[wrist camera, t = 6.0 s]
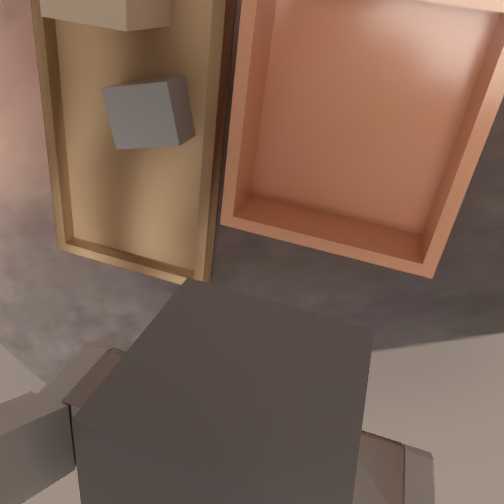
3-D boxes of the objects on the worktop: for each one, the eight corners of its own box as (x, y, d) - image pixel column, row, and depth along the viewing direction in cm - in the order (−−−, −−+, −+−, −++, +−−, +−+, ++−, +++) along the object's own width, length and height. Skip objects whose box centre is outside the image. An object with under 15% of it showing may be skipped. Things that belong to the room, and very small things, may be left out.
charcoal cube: (179, 404, 12) (88, 562, 9) (187, 277, 10) (71, 419, 7) (331, 457, 11) (295, 653, 8) (374, 330, 9) (349, 523, 6)
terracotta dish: (242, 198, 26) (220, 224, 23) (270, -38, 20) (246, -44, 17) (429, 244, 24) (432, 278, 21) (521, -4, 18) (541, -3, 15)
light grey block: (136, 139, 25) (116, 149, 24) (122, 82, 24) (100, 88, 22) (195, 135, 24) (179, 145, 23) (184, 75, 23) (166, 81, 21)
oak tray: (71, 239, 31) (57, 249, 30) (36, -147, 21) (13, -155, 20) (210, 278, 29) (202, 290, 28) (247, -126, 19) (237, -134, 18)
